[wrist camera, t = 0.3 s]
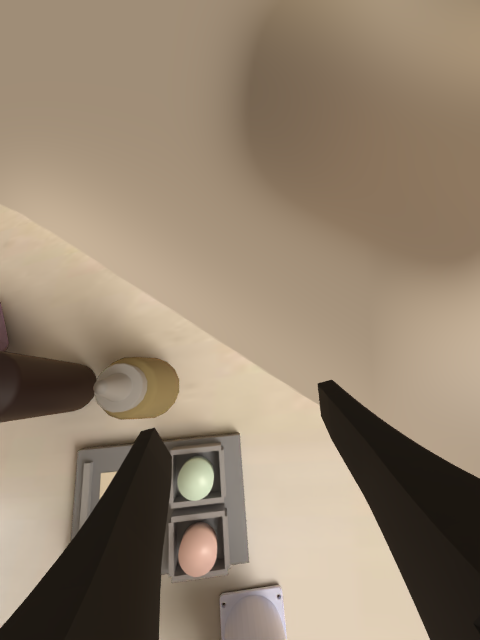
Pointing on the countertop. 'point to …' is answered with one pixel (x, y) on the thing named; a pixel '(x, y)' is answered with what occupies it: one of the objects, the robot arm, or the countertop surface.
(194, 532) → the pink button
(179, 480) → the mint button
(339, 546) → the countertop surface
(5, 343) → the flask
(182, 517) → the panel
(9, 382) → the vinegar
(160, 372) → the squeeze bottle
